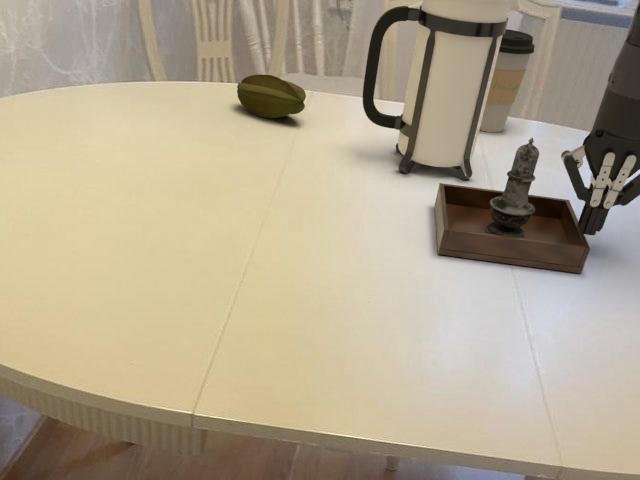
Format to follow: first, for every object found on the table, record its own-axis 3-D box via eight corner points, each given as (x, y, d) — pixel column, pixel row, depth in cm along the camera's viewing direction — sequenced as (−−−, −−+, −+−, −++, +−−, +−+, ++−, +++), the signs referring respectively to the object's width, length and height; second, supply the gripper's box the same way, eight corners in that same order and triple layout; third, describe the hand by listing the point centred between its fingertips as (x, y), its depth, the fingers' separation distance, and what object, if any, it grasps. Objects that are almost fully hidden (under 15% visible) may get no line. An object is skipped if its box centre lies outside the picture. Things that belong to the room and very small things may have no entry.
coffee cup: (492, 138, 133) (517, 42, 123) (450, 123, 138) (471, 29, 128) (522, 130, 138) (548, 38, 128) (480, 116, 143) (502, 25, 133)
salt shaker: (532, 230, 101) (562, 137, 93) (519, 245, 97) (549, 149, 89) (490, 218, 103) (516, 126, 95) (476, 232, 99) (502, 137, 91)
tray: (561, 222, 106) (569, 199, 104) (581, 273, 95) (590, 248, 92) (434, 206, 107) (439, 182, 105) (438, 254, 95) (444, 229, 93)
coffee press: (427, 142, 129) (471, -75, 109) (497, 174, 120) (560, -56, 100) (350, 155, 120) (382, -76, 100) (420, 191, 111) (471, -56, 91)
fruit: (298, 107, 137) (302, 67, 133) (304, 129, 128) (308, 87, 124) (235, 103, 136) (237, 62, 132) (237, 124, 127) (238, 81, 123)
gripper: (589, 90, 85) (540, 237, 96) (708, 105, 84) (645, 251, 96) (577, 73, 90) (533, 215, 102) (688, 87, 90) (631, 228, 101)
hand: (587, 232), depth 99 cm, fingers closed
